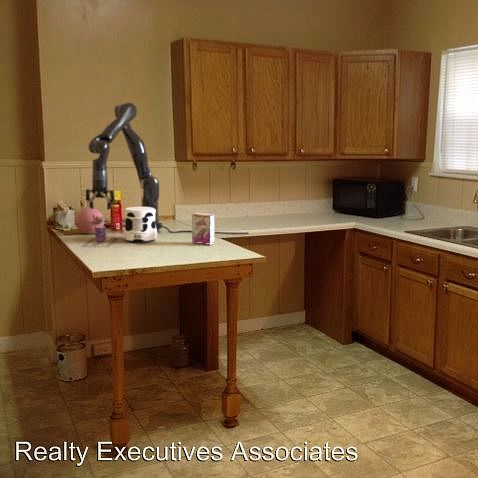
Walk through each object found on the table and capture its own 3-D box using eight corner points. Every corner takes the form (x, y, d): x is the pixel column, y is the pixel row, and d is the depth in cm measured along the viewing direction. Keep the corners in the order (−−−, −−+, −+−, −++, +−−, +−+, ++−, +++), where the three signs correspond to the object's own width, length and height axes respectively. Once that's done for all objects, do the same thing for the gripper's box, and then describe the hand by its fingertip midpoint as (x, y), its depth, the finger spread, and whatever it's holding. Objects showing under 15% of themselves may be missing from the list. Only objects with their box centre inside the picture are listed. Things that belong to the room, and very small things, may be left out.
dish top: (107, 230, 324) (107, 226, 324) (104, 232, 319) (104, 227, 318) (96, 230, 324) (96, 225, 323) (93, 232, 318) (93, 227, 318)
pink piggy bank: (89, 239, 329) (88, 211, 326) (70, 234, 341) (69, 207, 338) (114, 235, 341) (113, 208, 338) (95, 230, 353) (94, 204, 350)
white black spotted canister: (147, 237, 340) (146, 205, 336) (163, 242, 328) (162, 209, 324) (118, 240, 328) (117, 207, 324) (133, 246, 316) (132, 211, 312)
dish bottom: (107, 240, 325) (107, 235, 325) (104, 242, 320) (104, 237, 319) (97, 240, 325) (96, 235, 324) (94, 242, 319) (93, 237, 319)
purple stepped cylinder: (107, 235, 325) (107, 230, 324) (104, 237, 319) (104, 232, 319) (96, 235, 324) (96, 230, 324) (93, 237, 319) (93, 232, 318)
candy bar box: (191, 243, 326) (191, 213, 323) (196, 242, 331) (196, 212, 328) (210, 245, 323) (210, 215, 320) (214, 244, 327) (214, 214, 324)
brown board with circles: (117, 238, 334) (117, 237, 333) (107, 246, 312) (106, 245, 312) (95, 238, 333) (95, 237, 332) (83, 246, 311) (83, 245, 311)
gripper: (83, 178, 313) (84, 209, 316) (111, 179, 314) (112, 210, 317) (88, 177, 321) (88, 207, 324) (115, 178, 322) (116, 208, 325)
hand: (100, 209), depth 321 cm, fingers open, 8 cm apart
